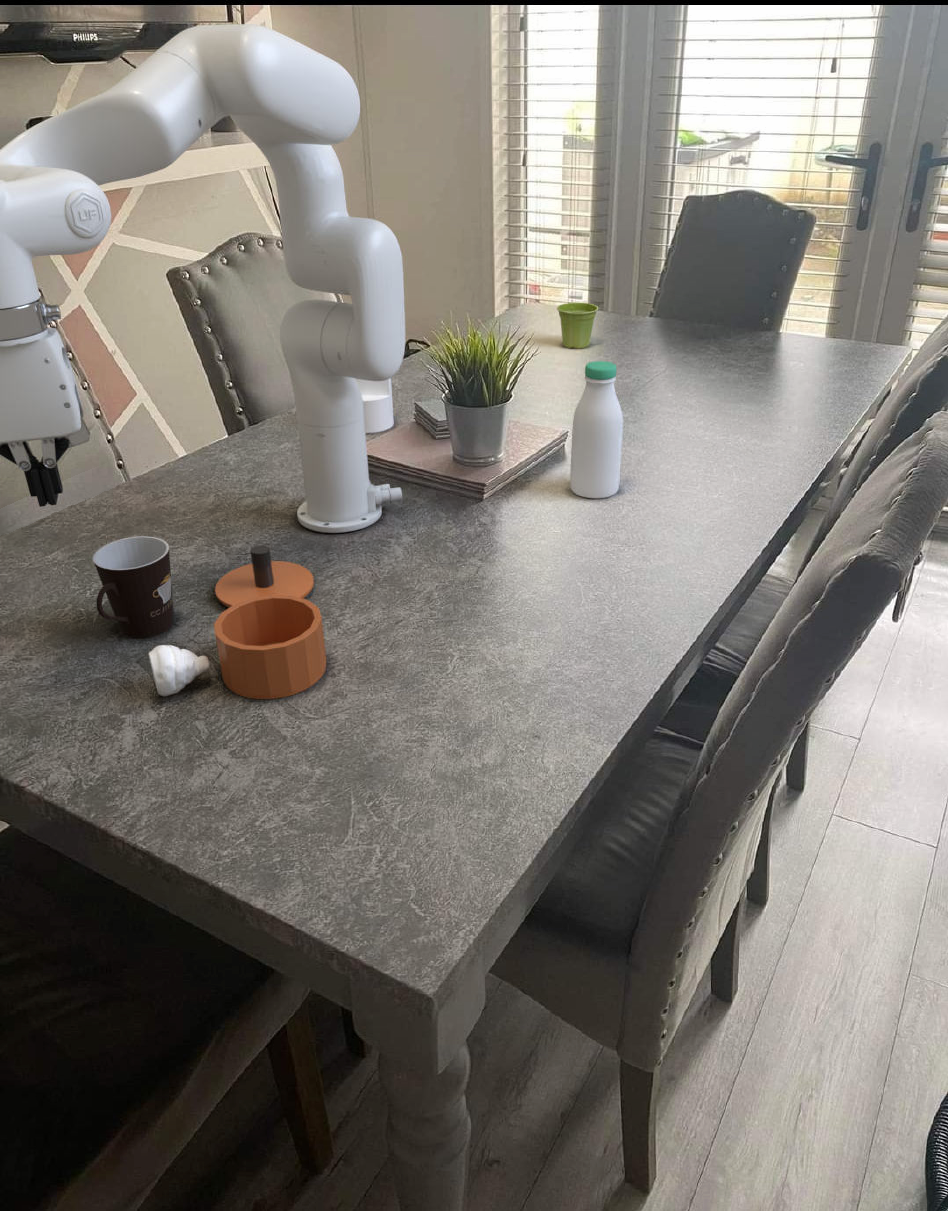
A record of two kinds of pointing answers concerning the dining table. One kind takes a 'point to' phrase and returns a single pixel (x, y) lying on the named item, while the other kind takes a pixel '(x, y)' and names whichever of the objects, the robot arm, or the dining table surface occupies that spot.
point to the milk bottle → (597, 435)
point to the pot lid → (263, 579)
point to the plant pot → (577, 323)
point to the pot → (271, 646)
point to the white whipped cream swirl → (175, 668)
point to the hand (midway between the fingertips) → (49, 500)
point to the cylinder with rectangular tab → (377, 404)
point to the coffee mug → (136, 585)
